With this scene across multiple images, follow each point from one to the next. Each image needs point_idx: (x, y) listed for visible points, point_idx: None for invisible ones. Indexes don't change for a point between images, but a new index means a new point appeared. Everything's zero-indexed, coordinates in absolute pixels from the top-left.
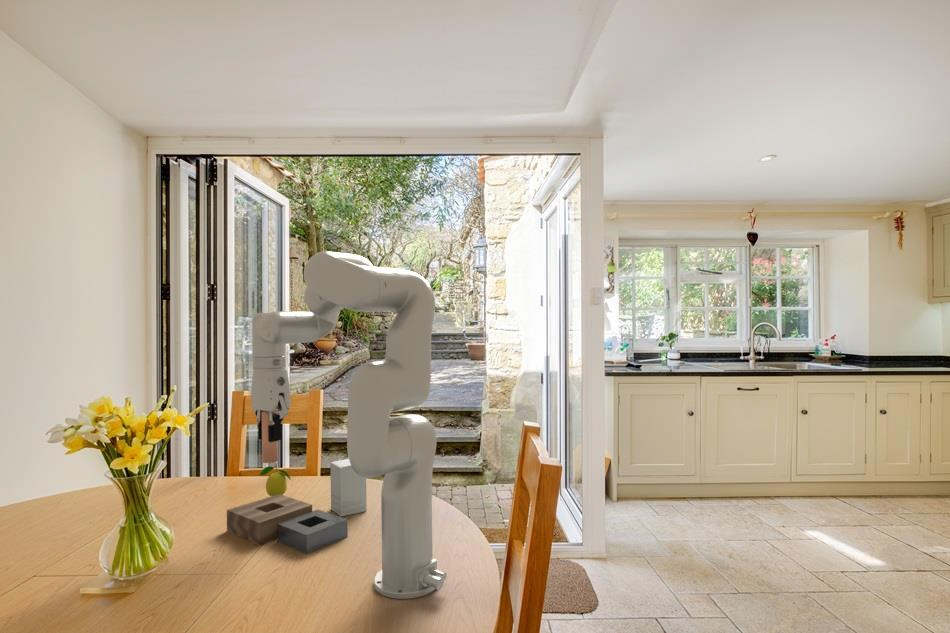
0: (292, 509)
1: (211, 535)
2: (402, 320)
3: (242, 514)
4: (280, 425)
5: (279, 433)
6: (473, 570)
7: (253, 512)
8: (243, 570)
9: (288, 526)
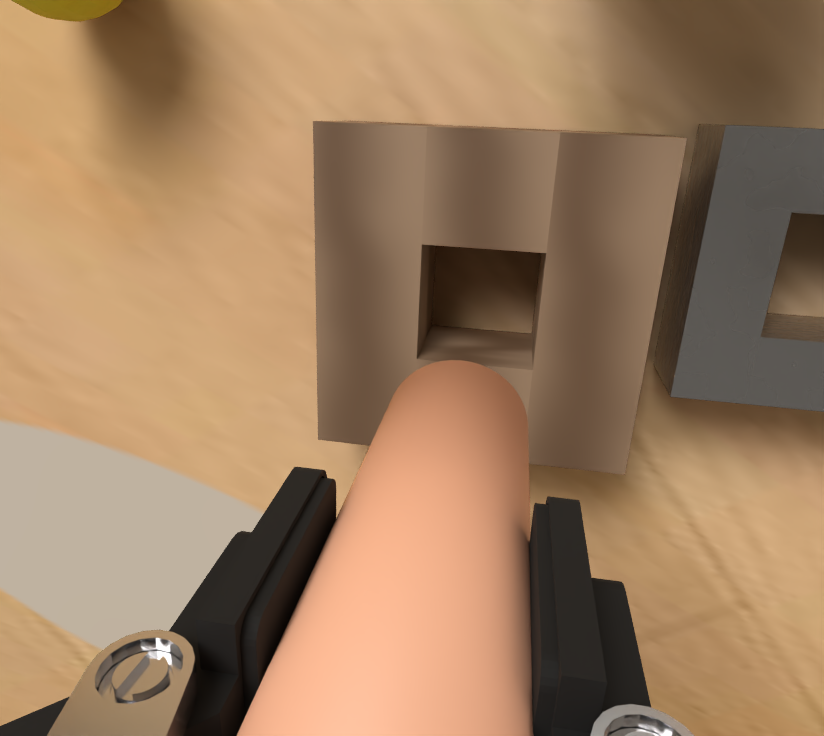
0: (631, 264)
1: (338, 452)
2: None
3: None
4: (598, 665)
5: (626, 619)
6: None
7: None
8: (746, 581)
9: (759, 392)
